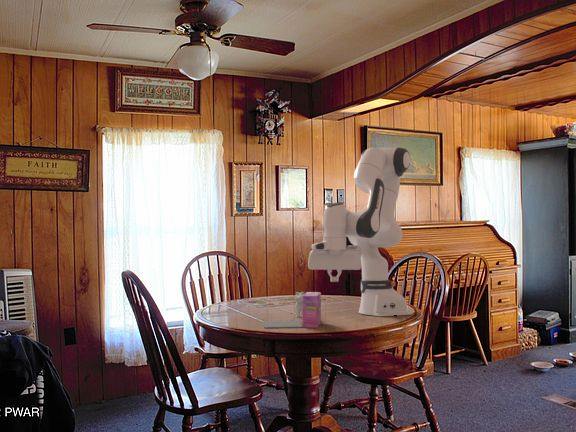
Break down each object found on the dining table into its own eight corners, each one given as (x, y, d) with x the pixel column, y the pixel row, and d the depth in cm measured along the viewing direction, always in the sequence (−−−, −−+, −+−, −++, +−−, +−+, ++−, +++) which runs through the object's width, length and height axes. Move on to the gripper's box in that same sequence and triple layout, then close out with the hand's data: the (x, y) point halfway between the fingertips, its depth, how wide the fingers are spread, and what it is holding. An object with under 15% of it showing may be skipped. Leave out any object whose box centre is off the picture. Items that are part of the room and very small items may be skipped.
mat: (300, 321, 202) (300, 320, 202) (302, 327, 190) (302, 326, 190) (264, 322, 202) (264, 321, 202) (264, 328, 190) (264, 327, 190)
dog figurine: (292, 319, 209) (292, 292, 209) (301, 313, 221) (300, 288, 221) (305, 319, 207) (304, 292, 207) (313, 314, 219) (312, 288, 219)
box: (317, 327, 190) (317, 295, 190) (302, 327, 191) (301, 295, 191) (321, 322, 200) (321, 292, 200) (306, 322, 201) (306, 291, 201)
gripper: (360, 245, 199) (360, 281, 199) (307, 244, 199) (307, 280, 198) (363, 245, 193) (363, 282, 193) (308, 245, 192) (308, 282, 192)
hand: (334, 281), depth 195 cm, fingers closed
